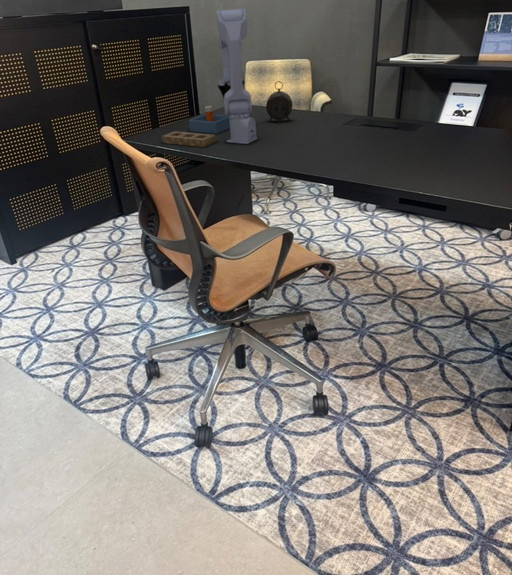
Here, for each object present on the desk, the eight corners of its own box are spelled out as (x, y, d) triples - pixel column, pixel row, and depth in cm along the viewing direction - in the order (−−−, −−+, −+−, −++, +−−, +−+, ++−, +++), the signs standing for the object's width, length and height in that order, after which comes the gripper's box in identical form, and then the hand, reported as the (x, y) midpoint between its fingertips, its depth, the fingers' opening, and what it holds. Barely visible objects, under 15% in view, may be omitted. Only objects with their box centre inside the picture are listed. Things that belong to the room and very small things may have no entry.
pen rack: (216, 141, 193) (215, 134, 191) (204, 147, 187) (203, 140, 186) (175, 137, 202) (174, 131, 201) (162, 142, 196) (161, 136, 195)
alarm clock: (292, 119, 217) (291, 79, 208) (292, 122, 212) (291, 81, 204) (267, 120, 218) (265, 80, 210) (266, 123, 213) (264, 83, 205)
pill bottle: (216, 127, 211) (214, 106, 206) (211, 129, 208) (209, 107, 204) (209, 126, 212) (207, 105, 208) (205, 128, 210) (203, 107, 205)
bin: (232, 127, 212) (231, 115, 209) (216, 133, 203) (215, 122, 201) (205, 125, 218) (204, 114, 216) (189, 131, 209) (188, 120, 207)
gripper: (231, 62, 206) (234, 97, 213) (211, 68, 196) (214, 104, 202) (245, 63, 203) (248, 98, 210) (226, 68, 192) (229, 105, 199)
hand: (232, 101), depth 206 cm, fingers open, 7 cm apart
